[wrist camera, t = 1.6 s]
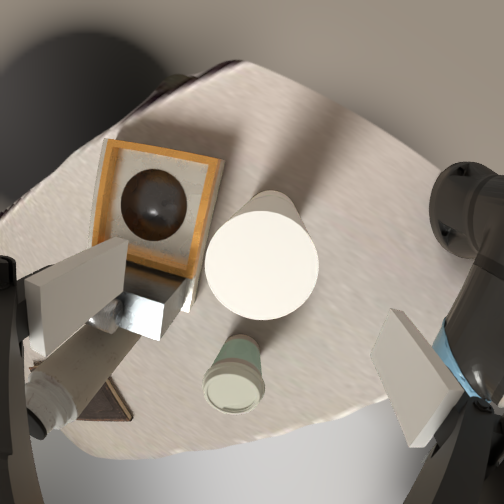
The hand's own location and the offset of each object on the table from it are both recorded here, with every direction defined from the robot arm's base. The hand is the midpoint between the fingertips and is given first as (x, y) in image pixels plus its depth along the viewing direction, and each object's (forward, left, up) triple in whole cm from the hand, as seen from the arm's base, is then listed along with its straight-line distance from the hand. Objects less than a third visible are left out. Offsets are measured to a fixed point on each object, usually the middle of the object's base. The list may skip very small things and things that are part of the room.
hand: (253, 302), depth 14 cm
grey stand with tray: (+17, +5, -30) cm, 35 cm away
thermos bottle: (+20, +24, -31) cm, 44 cm away
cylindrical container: (0, 0, -31) cm, 31 cm away
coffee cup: (-1, +22, -31) cm, 38 cm away
